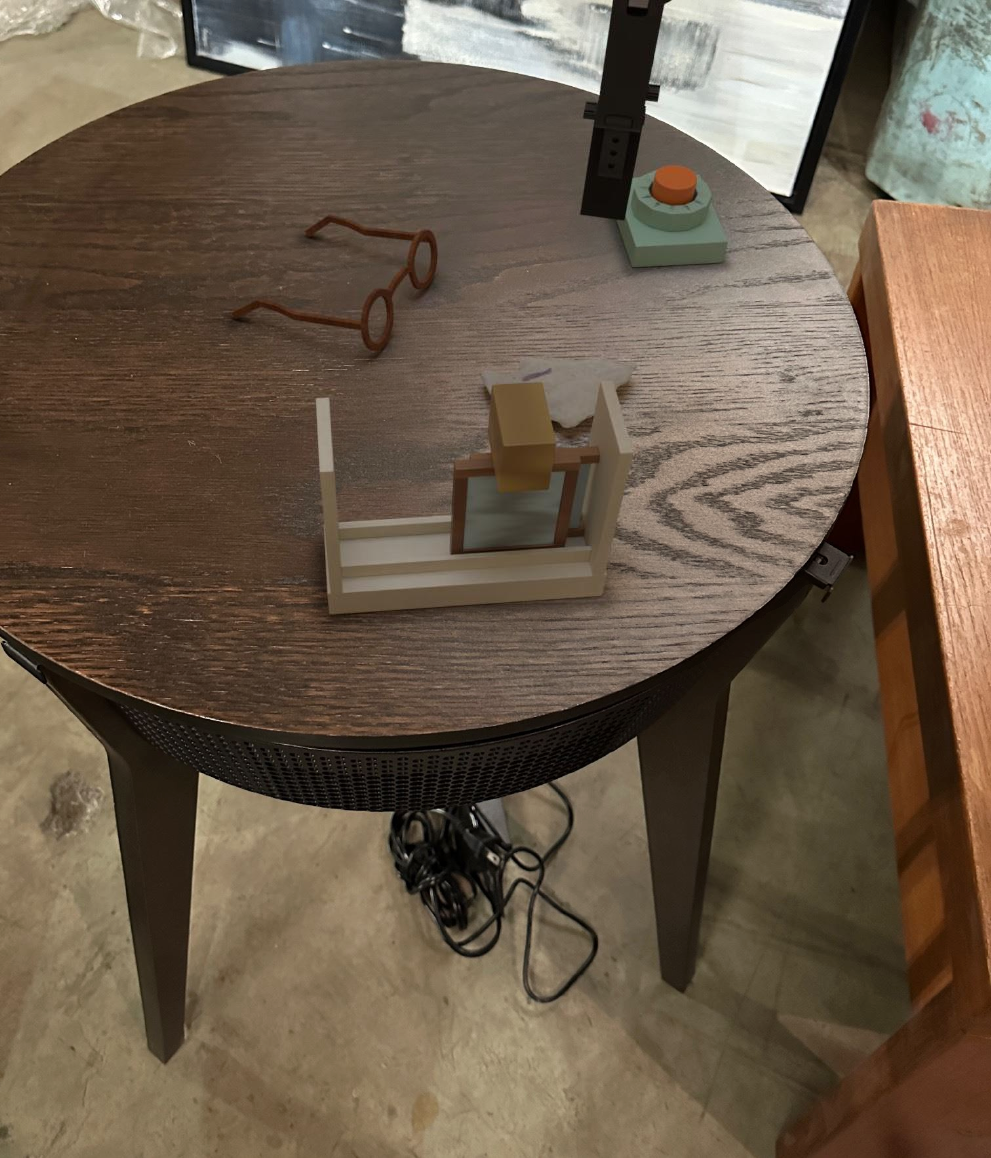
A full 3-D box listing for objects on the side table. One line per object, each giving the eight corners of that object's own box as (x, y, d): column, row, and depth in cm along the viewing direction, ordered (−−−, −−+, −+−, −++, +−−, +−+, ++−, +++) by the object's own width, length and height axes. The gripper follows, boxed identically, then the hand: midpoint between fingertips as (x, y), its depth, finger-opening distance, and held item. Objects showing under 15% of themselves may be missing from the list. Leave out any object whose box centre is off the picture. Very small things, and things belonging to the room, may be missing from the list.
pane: (557, 518, 75) (581, 378, 65) (569, 577, 72) (597, 440, 62) (445, 525, 74) (452, 386, 64) (454, 584, 72) (462, 448, 61)
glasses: (372, 365, 88) (370, 315, 84) (231, 318, 91) (223, 268, 87) (440, 271, 95) (442, 222, 91) (307, 231, 99) (303, 181, 95)
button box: (694, 195, 102) (704, 155, 99) (722, 262, 96) (733, 223, 93) (609, 199, 101) (615, 160, 98) (631, 267, 95) (639, 228, 92)
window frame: (585, 527, 78) (616, 379, 67) (602, 596, 74) (637, 452, 63) (325, 544, 77) (312, 397, 66) (329, 614, 73) (316, 472, 62)
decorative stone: (475, 390, 88) (473, 364, 85) (610, 338, 89) (612, 311, 86) (520, 464, 83) (519, 439, 81) (661, 409, 84) (665, 382, 82)
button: (687, 181, 97) (691, 163, 95) (697, 206, 95) (701, 188, 93) (647, 183, 97) (650, 165, 95) (656, 208, 95) (660, 190, 93)
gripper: (613, -311, 52) (556, 143, 71) (579, -211, 45) (526, 268, 64) (774, -300, 51) (673, 158, 70) (767, -196, 44) (656, 286, 63)
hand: (603, 210), depth 67 cm, fingers closed
